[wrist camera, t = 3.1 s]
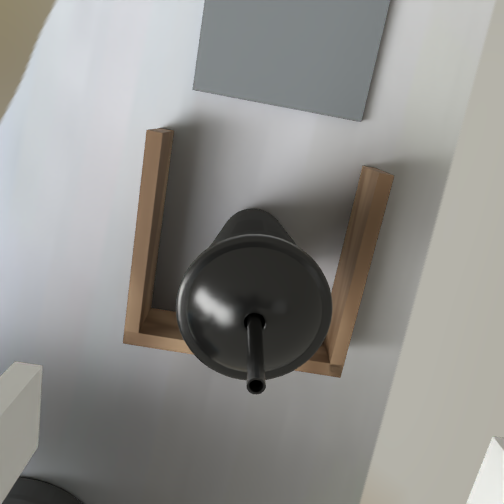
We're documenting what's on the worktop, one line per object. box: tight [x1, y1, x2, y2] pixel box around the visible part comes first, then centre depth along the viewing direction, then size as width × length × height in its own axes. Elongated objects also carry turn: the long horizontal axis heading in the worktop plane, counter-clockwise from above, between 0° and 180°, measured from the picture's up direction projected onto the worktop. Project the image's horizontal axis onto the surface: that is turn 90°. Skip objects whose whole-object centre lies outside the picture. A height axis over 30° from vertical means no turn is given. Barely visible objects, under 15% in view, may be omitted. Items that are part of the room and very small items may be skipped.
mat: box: [193, 0, 390, 122], centre depth 31 cm, size 12×12×1 cm
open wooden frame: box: [123, 128, 394, 378], centre depth 33 cm, size 16×15×4 cm
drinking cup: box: [176, 209, 332, 394], centre depth 26 cm, size 8×8×20 cm
